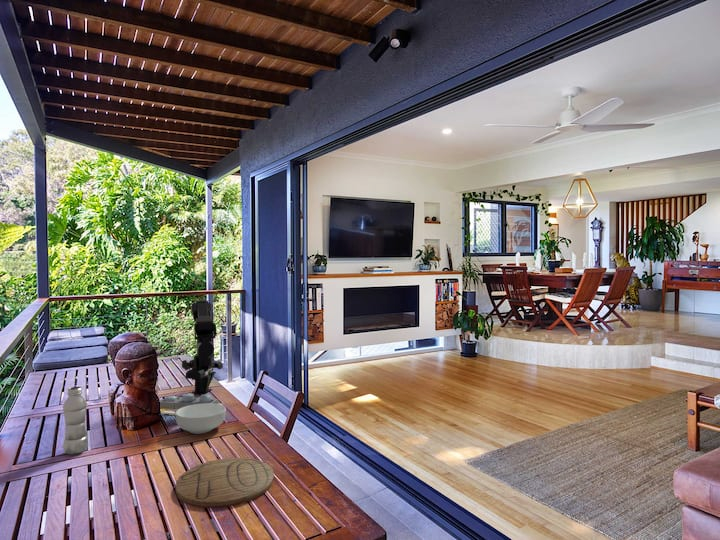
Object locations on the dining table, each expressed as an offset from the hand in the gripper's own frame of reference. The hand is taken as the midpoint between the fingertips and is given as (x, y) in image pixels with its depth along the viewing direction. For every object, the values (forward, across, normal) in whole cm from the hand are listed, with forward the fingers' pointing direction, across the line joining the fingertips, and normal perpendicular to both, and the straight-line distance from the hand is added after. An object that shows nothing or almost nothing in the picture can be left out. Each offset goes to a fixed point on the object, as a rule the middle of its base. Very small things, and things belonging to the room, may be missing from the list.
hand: (205, 391), depth 185 cm
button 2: (+5, 0, -7) cm, 9 cm away
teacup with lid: (+8, -9, -32) cm, 34 cm away
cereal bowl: (+8, +20, +10) cm, 24 cm away
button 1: (+6, 0, -15) cm, 16 cm away
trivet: (+8, +55, +37) cm, 67 cm away
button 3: (+5, 0, 0) cm, 5 cm away
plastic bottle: (+8, +45, -18) cm, 49 cm away
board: (+7, +1, -7) cm, 11 cm away
